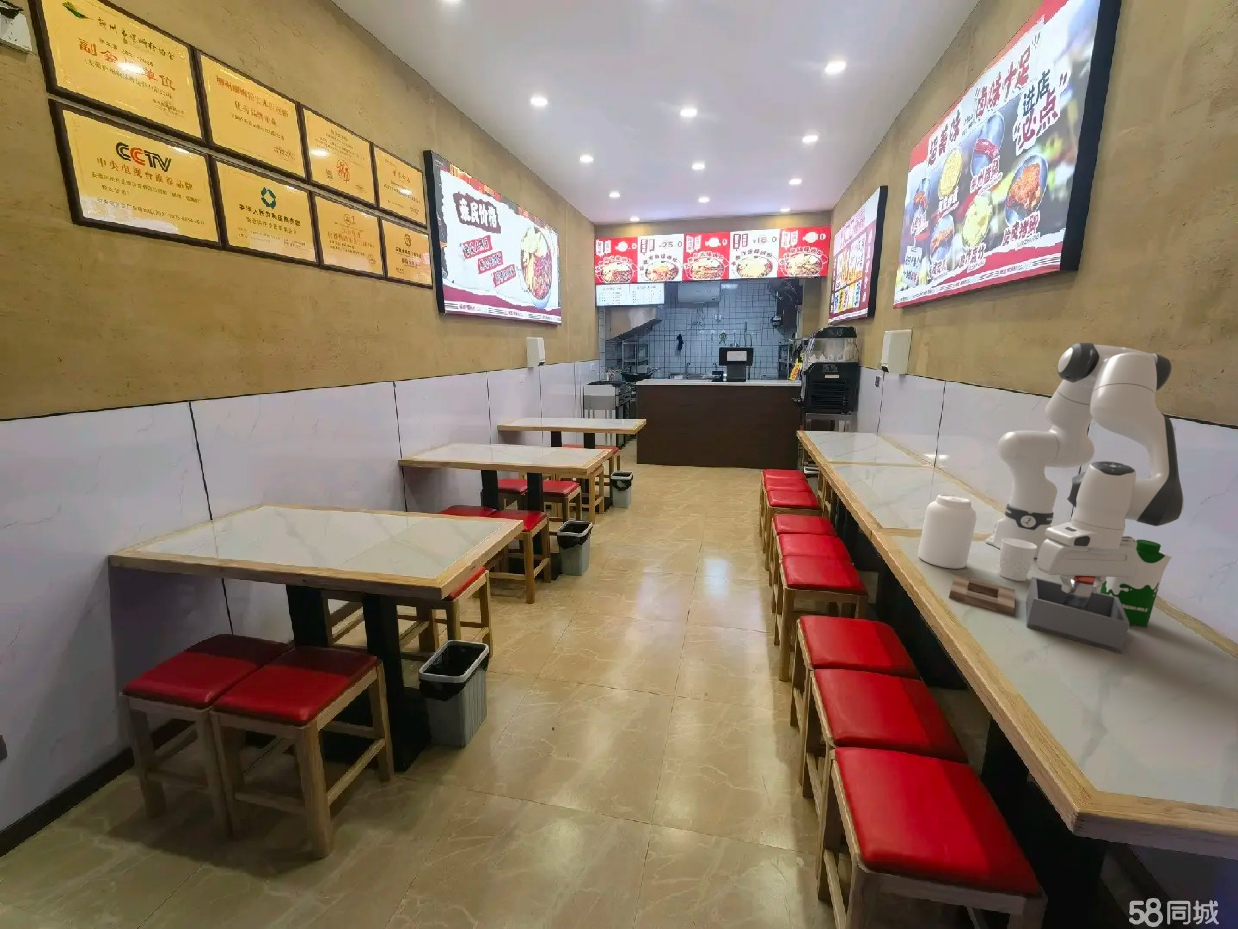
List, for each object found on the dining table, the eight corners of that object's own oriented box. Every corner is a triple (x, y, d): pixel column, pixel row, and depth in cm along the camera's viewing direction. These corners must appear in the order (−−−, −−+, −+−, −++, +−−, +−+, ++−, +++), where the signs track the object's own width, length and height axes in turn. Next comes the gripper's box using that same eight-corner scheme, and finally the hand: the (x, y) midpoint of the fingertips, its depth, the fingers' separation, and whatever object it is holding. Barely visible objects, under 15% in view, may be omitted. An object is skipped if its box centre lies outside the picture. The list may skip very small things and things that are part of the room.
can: (970, 573, 146) (985, 506, 142) (920, 564, 150) (933, 499, 146) (960, 557, 157) (973, 495, 153) (914, 550, 162) (926, 489, 157)
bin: (1025, 602, 129) (1032, 576, 128) (1110, 624, 120) (1118, 597, 119) (1026, 626, 117) (1033, 598, 116) (1120, 653, 108) (1129, 623, 106)
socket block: (953, 581, 140) (955, 574, 139) (1013, 596, 132) (1014, 589, 132) (948, 597, 130) (950, 590, 129) (1012, 615, 122) (1014, 607, 122)
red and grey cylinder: (1075, 603, 120) (1083, 571, 118) (1091, 611, 116) (1100, 578, 114) (1058, 602, 119) (1067, 570, 118) (1074, 611, 115) (1083, 578, 114)
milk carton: (1107, 622, 121) (1130, 542, 117) (1087, 605, 130) (1108, 530, 125) (1154, 630, 119) (1180, 549, 114) (1131, 612, 127) (1154, 536, 123)
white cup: (1035, 584, 141) (1043, 550, 139) (1003, 580, 142) (1011, 546, 140) (1019, 572, 148) (1027, 539, 146) (989, 568, 150) (996, 536, 148)
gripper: (1124, 531, 117) (1108, 587, 120) (1038, 528, 116) (1025, 584, 119) (1153, 541, 111) (1135, 600, 114) (1063, 538, 110) (1048, 597, 113)
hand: (1078, 592), depth 117 cm, fingers closed on red and grey cylinder, 4 cm apart
